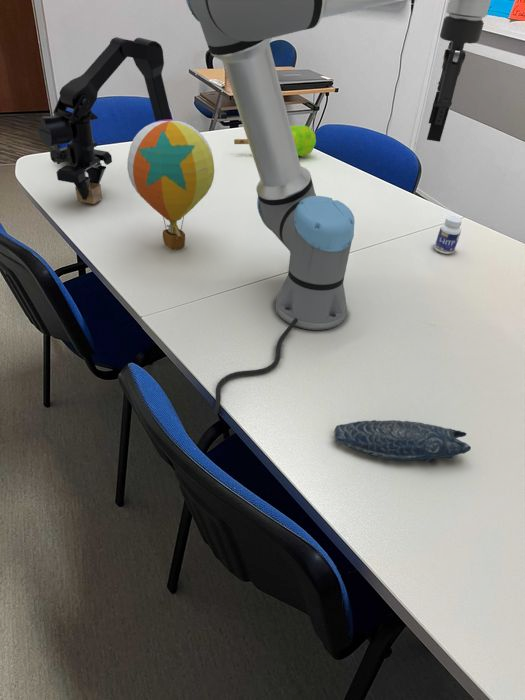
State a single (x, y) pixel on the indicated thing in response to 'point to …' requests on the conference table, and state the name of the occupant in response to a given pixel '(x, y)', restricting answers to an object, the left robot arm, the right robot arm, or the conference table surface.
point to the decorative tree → (296, 139)
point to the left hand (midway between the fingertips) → (89, 196)
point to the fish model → (401, 439)
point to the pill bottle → (448, 235)
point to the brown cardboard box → (91, 194)
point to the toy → (171, 172)
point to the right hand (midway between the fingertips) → (433, 131)
